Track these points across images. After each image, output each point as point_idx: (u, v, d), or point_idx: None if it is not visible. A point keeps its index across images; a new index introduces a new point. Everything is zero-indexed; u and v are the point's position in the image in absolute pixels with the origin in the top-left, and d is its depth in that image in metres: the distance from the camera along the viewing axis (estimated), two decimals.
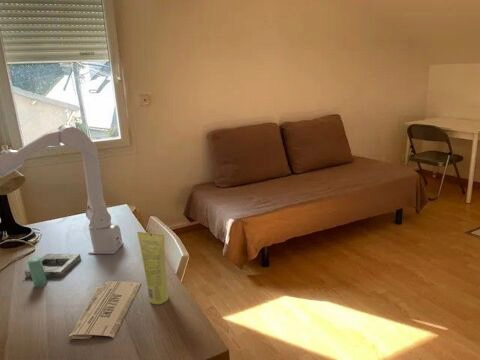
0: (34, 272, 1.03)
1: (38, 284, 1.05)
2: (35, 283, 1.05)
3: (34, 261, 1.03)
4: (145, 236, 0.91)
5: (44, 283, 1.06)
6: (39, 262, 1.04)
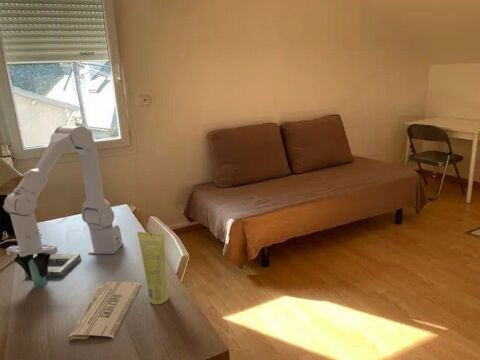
0: (34, 272, 1.03)
1: (38, 284, 1.05)
2: (35, 283, 1.05)
3: None
4: (145, 236, 0.91)
5: (44, 283, 1.06)
6: None
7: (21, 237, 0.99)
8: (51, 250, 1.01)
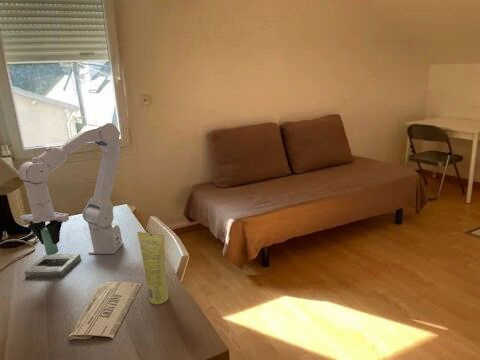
0: (46, 240, 1.08)
1: (50, 252, 1.10)
2: (47, 251, 1.09)
3: (46, 230, 1.08)
4: (145, 236, 0.91)
5: (56, 251, 1.11)
6: None
7: (33, 204, 1.04)
8: (63, 217, 1.06)
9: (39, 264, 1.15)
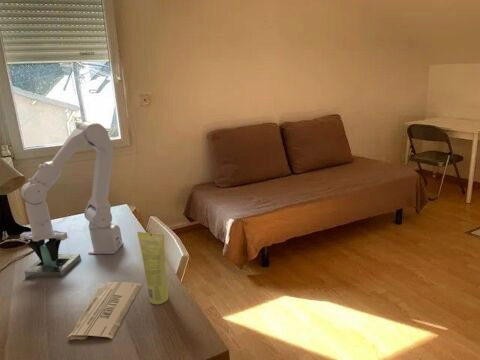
0: (45, 256, 1.12)
1: None
2: None
3: None
4: (145, 236, 0.91)
5: None
6: None
7: (32, 223, 1.08)
8: (62, 235, 1.10)
9: (39, 264, 1.15)
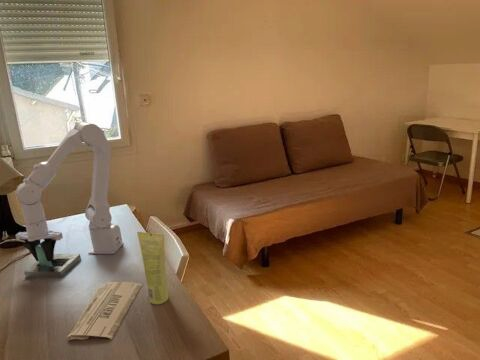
0: (41, 256, 1.12)
1: None
2: None
3: None
4: (145, 236, 0.91)
5: None
6: None
7: (26, 223, 1.08)
8: (57, 235, 1.10)
9: None
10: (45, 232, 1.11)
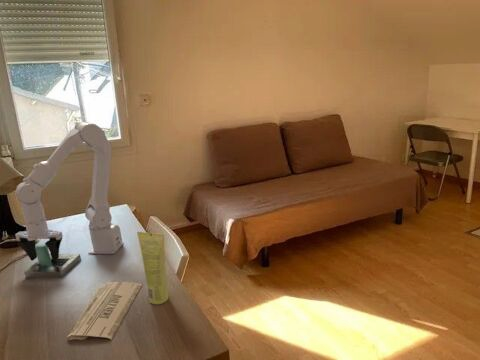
0: (41, 257, 1.12)
1: None
2: None
3: (41, 247, 1.12)
4: (145, 236, 0.91)
5: None
6: (45, 247, 1.13)
7: (26, 222, 1.08)
8: (57, 235, 1.10)
9: None
10: (45, 231, 1.11)
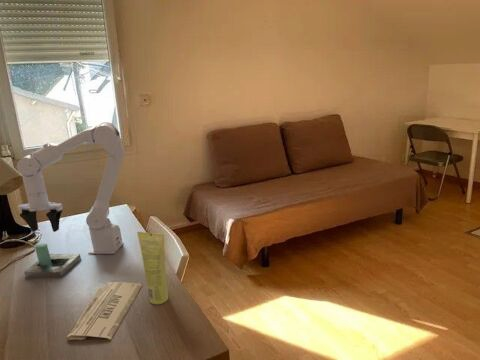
0: (41, 257, 1.12)
1: None
2: None
3: (41, 247, 1.12)
4: (145, 236, 0.91)
5: None
6: (45, 247, 1.13)
7: (26, 193, 1.14)
8: (57, 206, 1.15)
9: None
10: (46, 203, 1.16)
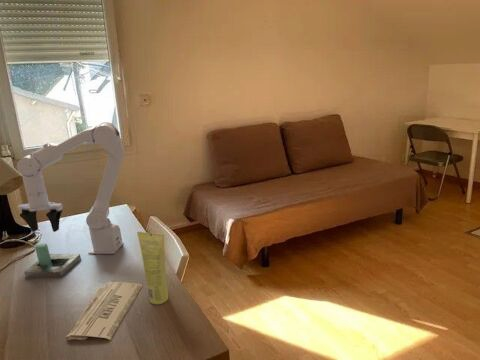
0: (41, 257, 1.12)
1: None
2: None
3: (41, 247, 1.12)
4: (145, 236, 0.91)
5: None
6: (45, 247, 1.13)
7: (26, 193, 1.14)
8: (57, 206, 1.15)
9: None
10: (46, 203, 1.16)
